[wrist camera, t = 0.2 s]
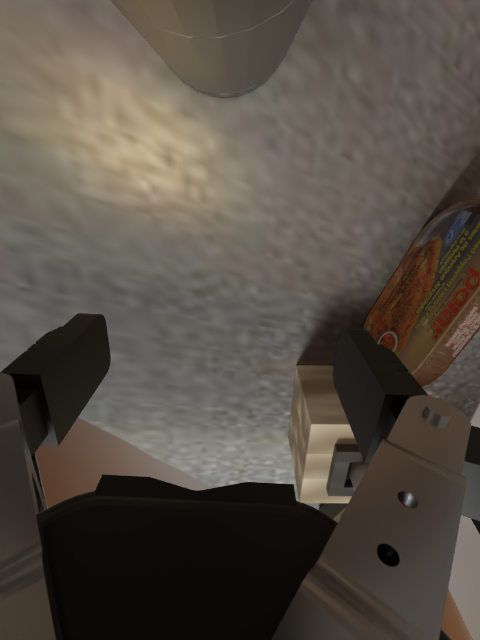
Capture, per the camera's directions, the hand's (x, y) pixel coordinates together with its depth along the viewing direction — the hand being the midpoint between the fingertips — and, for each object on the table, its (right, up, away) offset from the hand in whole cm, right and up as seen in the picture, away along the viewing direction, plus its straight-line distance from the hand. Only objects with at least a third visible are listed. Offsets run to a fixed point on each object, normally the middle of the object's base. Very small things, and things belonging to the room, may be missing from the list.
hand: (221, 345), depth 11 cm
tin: (+15, +4, +18) cm, 24 cm away
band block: (+11, -8, +24) cm, 28 cm away
